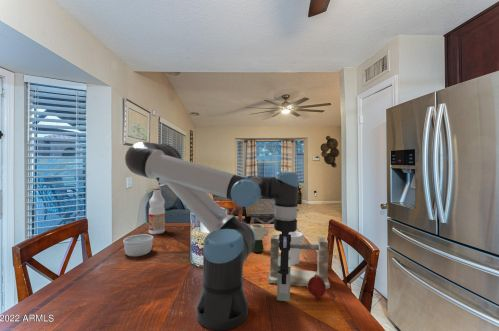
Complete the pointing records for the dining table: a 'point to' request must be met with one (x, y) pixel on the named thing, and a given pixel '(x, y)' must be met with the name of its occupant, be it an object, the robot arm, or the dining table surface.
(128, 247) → the ramekin
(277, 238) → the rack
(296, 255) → the foam cup
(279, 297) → the grey u-shaped block
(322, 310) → the dining table surface
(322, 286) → the onion
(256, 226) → the character mug
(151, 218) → the fruit juice
